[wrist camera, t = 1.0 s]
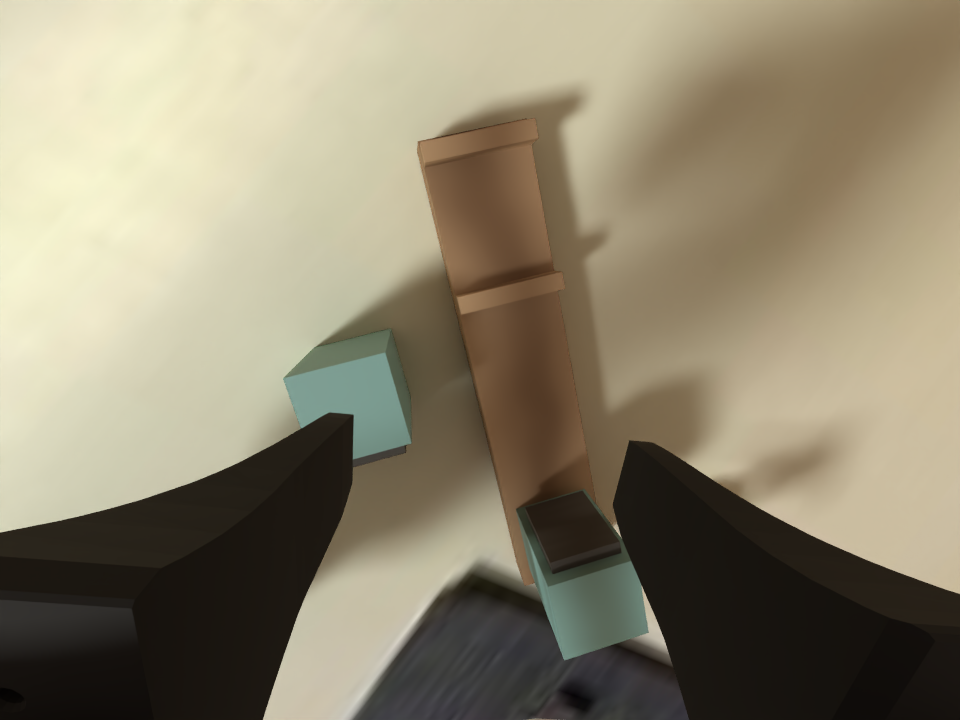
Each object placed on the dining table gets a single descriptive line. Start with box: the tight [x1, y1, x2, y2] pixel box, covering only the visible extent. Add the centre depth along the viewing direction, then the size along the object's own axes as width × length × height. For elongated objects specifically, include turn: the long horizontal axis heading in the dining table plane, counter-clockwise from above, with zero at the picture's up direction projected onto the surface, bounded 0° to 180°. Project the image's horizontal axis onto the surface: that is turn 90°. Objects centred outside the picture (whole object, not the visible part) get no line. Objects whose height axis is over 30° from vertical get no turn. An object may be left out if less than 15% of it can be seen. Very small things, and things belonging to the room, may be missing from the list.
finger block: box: [283, 329, 412, 467], centre depth 21 cm, size 4×5×6 cm
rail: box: [417, 118, 649, 660], centre depth 21 cm, size 5×24×8 cm, turn 13°
